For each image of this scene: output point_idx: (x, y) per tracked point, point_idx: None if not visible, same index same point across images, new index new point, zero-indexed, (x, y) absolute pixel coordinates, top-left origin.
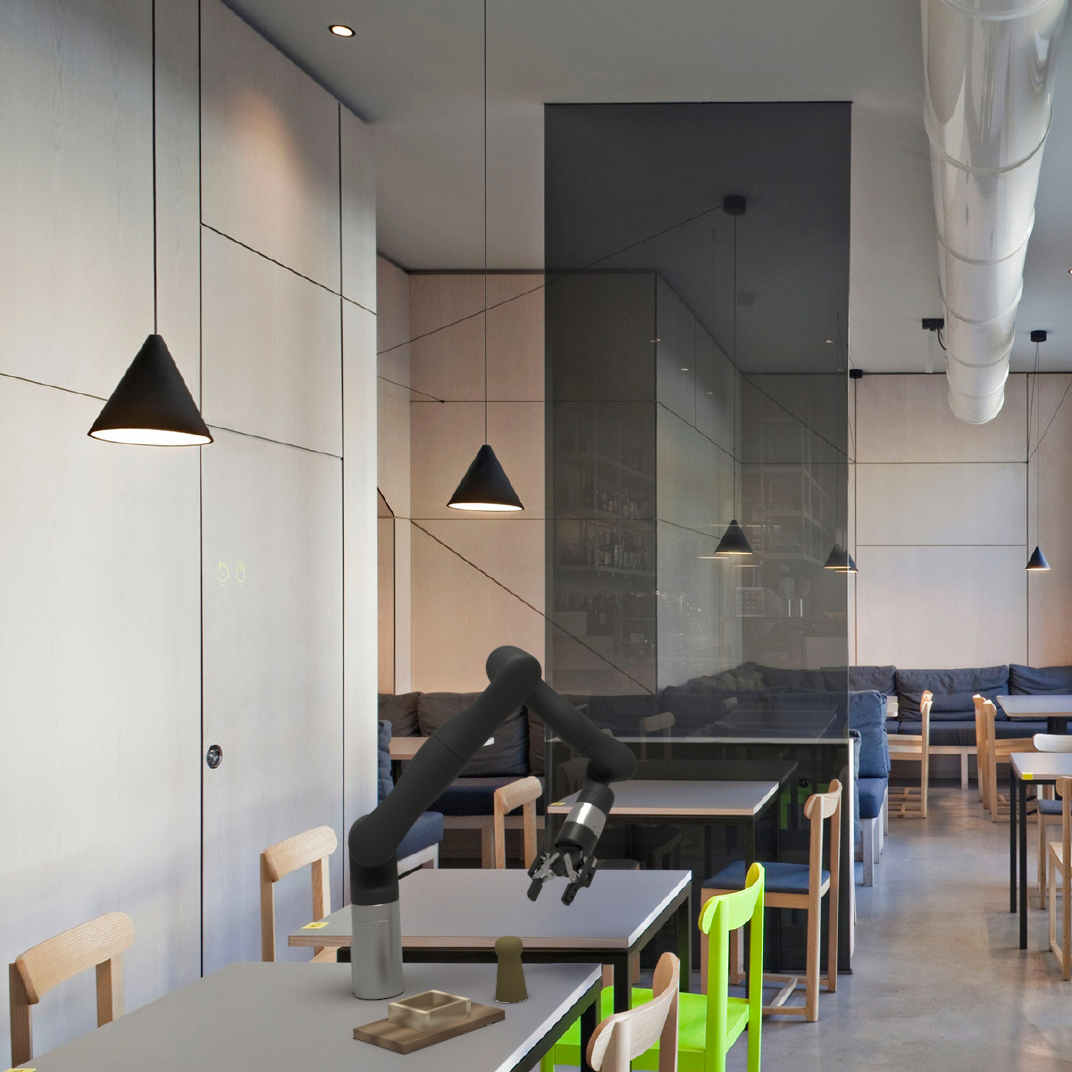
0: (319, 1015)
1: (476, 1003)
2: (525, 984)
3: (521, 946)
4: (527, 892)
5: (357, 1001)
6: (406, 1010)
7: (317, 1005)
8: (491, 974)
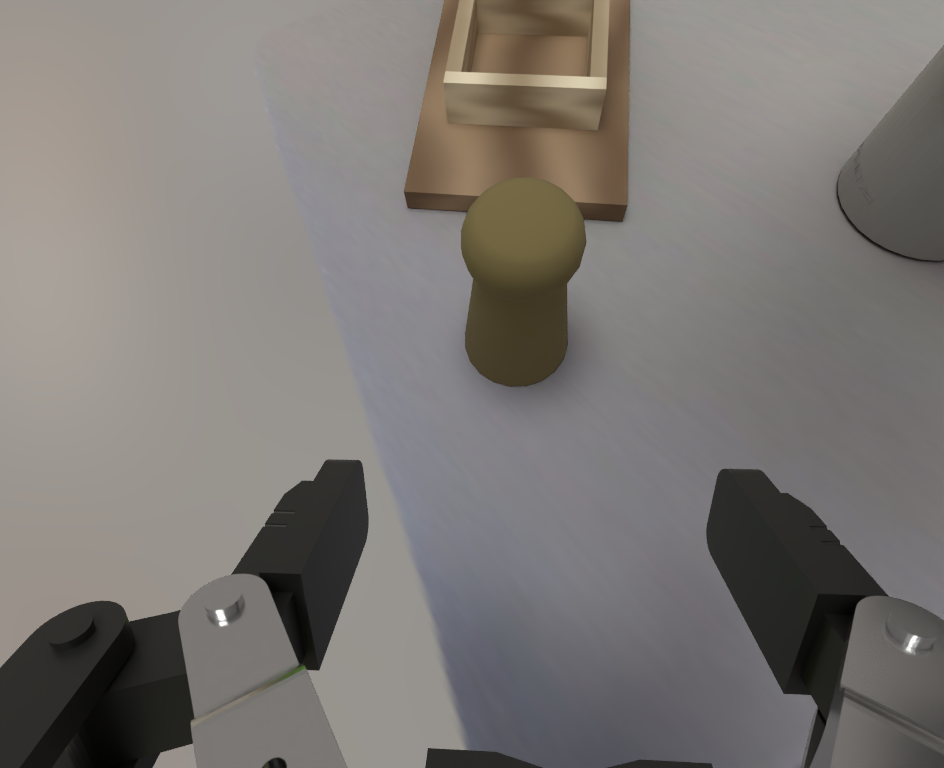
0: (844, 38)
1: None
2: (478, 347)
3: (464, 254)
4: (798, 503)
5: None
6: None
7: None
8: None
